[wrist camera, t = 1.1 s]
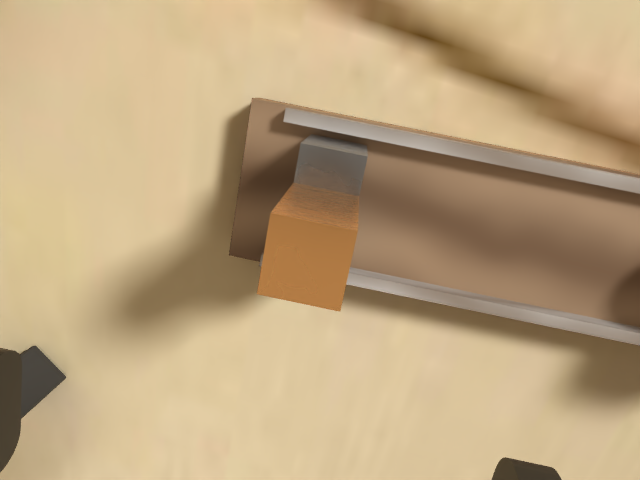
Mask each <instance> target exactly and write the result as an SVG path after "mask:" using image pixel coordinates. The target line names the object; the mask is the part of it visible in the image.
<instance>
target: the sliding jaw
mask: <svg viewBox="0 0 640 480" xmlns="http://www.w3.org/2000/svg"><path fill="white" fill-rule="evenodd" d="M367 158H368V154H367V145H363V144H358V143H353V142H348V141H343V140H338V139H333V138H329V137H324V136H319V135H314V134H311V135H310V136H309V137H307V138H306V139H305V140H304V141H302V142H301V144H300V149H299V155H298V161H297V166H296V172H295V178H294V183H293V184H292V185H291V187H290V188H289V189H288V191H287V192H286V193H285V195H284V196H283V197H282V198H281V200H280V201H279V202H278V204H277V205H276V206H275V208H274V209H273V210H272V212H271V213H270V219H269V225H268V231H267V236H266V242H265V248H264V254H263V260H262V266H261V272H260V278H259V284H258V290H257V294H259V295H264V296H269V297H273V298H278V299H283V300H288V301H292V302H297V303H302V304H307V305H311V306H316V307H321V308H326V309H330V310H335V311H340V310H341V305H342V301H343V296H344V292H345V287H346V283H347V278H348V274H349V269H350V265H351V260H352V256H353V251H354V247H355V242H356V238H357V233H358V216H359V194H360V190H361V185H362V181H363V176H364V171H365V167H366V162H367Z"/></svg>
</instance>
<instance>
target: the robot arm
mask: <svg viewBox="0 0 640 480" xmlns="http://www.w3.org/2000/svg"><path fill="white" fill-rule="evenodd" d="M21 387H22V361H21V357H20V355H19V354H18V353H17V352H16V351H12V350H7V349H3V348H0V472H1V471H2V470H3V469H4V467H5V466H6V465H7V463H8V462H9V460H10V458H11V457H12V455H13V453H14V451H15V448H16V446H17V443H18V440H19V436H20V429H21ZM492 480H561V478H560V476H559V474H558V473H557V471H556V470H555V469H553V468H552V467H548V466H543V465H538V464H534V463H529V462H524V461H520V460H515V459H510V458H506V457H505V458H502V459H501V460H500V461H499V463H498V465H497V467H496V469H495V472H494V475H493V478H492Z"/></svg>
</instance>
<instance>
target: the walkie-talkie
mask: <svg viewBox="0 0 640 480" xmlns="http://www.w3.org/2000/svg"><path fill="white" fill-rule="evenodd" d="M20 357H21V361H22V387H21V418H22V417H24V416H25V415H26V414H27V413H28V412H29V411H30V410H31V409H32V408H33V407H35V406H36V405H37V404H38V403H39V402H40V401H41V400H42V399H43V398H45V397H46V396H47V395H48V394H49V393H50V392H51V391H52V390H53V389H54V388H56V387H57V386H58V385H59V384H60V383H61V382H62V381H63V380H64V379H65V378H66V376H65V375H64V374H63V373H62V372H61V371H60V370H59V369H58V368H57V367H56V366H55V365H54V364H53V363H52V362H51V361H50V360H49V359H48V358H47V357H46V356H45V355H44V354H43V353H42V352H41V351H40V350H39V349H38V348H37V347H36V346H32V347H31V348H29V349H28V350H26V351H24V352H23V353H22V354H20Z"/></svg>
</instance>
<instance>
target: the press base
mask: <svg viewBox="0 0 640 480" xmlns="http://www.w3.org/2000/svg"><path fill="white" fill-rule="evenodd" d="M311 134H314V135H319V136H324V137H329V138H333V139H338V140H343V141H348V142H353V143H358V144H363V145H367V154H368V158H367V162H366V167H365V171H364V176H363V181H362V185H361V190H360V194H359V216H358V233H357V238H356V242H355V247H354V251H353V256H352V260H351V265H350V269H349V274H348V278H347V283H346V284H347V285H352V286H357V287H362V288H367V289H371V290H376V291H381V292H386V293H390V294H395V295H400V296H405V297H410V298H414V299H419V300H424V301H429V302H433V303H438V304H443V305H448V306H453V307H457V308H462V309H467V310H472V311H477V312H481V313H486V314H491V315H496V316H500V317H505V318H510V319H515V320H520V321H524V322H529V323H534V324H539V325H544V326H548V327H553V328H558V329H563V330H567V331H572V332H577V333H582V334H587V335H591V336H596V337H601V338H606V339H610V340H615V341H620V342H625V343H630V344H634V345H639V346H640V174H635V173H630V172H625V171H620V170H615V169H610V168H605V167H600V166H595V165H590V164H586V163H581V162H576V161H571V160H566V159H561V158H556V157H551V156H546V155H541V154H536V153H531V152H526V151H521V150H516V149H511V148H506V147H501V146H496V145H491V144H486V143H481V142H476V141H471V140H466V139H461V138H456V137H451V136H446V135H441V134H436V133H432V132H427V131H422V130H417V129H412V128H407V127H402V126H397V125H392V124H387V123H382V122H377V121H372V120H367V119H362V118H357V117H352V116H347V115H342V114H337V113H332V112H327V111H322V110H317V109H312V108H307V107H302V106H297V105H292V104H287V103H282V102H277V101H273V100H268V99H263V98H252V102H251V109H250V116H249V122H248V129H247V136H246V143H245V150H244V156H243V163H242V170H241V177H240V184H239V191H238V197H237V204H236V211H235V218H234V225H233V231H232V238H231V245H230V252H229V255H231V256H236V257H240V258H245V259H250V260H255V261H260V265H259V266H262V260H263V254H264V248H265V242H266V236H267V231H268V225H269V219H270V213H271V212H272V210H273V209H274V208H275V206H276V205H277V204H278V202H279V201H280V200H281V198H282V197H283V196H284V195H285V193H286V192H287V191H288V189H289V188H290V187H291V185H292V184H293V183H294V178H295V172H296V166H297V161H298V155H299V149H300V144H301V142H302V141H304V140H305V139H306V138H307V137H309V136H310V135H311Z"/></svg>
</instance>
